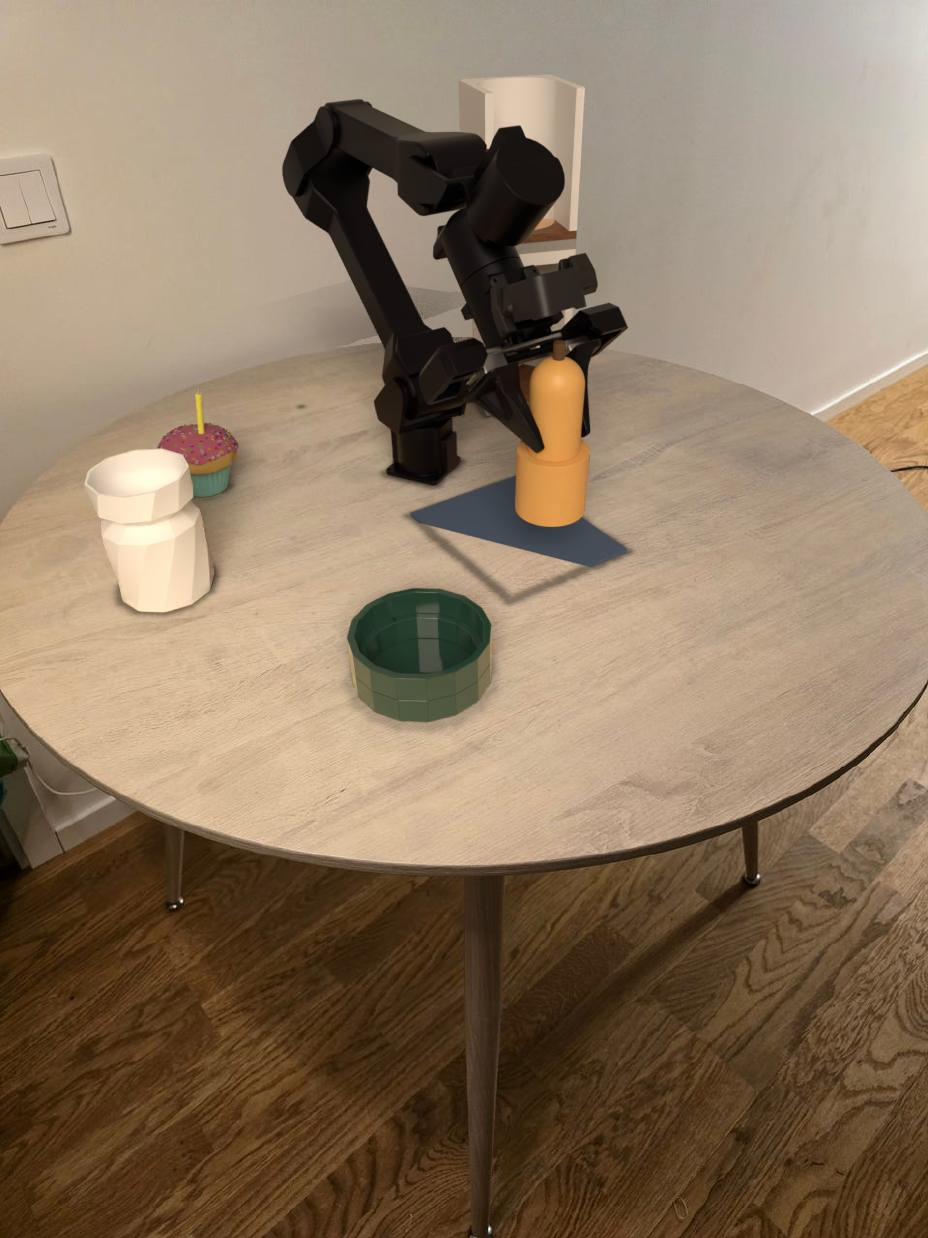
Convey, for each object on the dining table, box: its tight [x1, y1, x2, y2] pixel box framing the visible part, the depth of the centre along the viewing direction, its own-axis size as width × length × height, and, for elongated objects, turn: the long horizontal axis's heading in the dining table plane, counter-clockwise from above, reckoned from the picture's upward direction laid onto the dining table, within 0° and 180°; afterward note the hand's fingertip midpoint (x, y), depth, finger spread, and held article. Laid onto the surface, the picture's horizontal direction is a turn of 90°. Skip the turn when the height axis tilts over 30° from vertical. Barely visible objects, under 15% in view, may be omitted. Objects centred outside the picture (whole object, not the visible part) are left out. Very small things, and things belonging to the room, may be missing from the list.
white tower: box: [458, 73, 586, 417], centre depth 103 cm, size 11×11×35 cm
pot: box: [346, 587, 493, 723], centre depth 69 cm, size 11×11×5 cm
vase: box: [83, 448, 215, 613], centre depth 78 cm, size 9×9×12 cm
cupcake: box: [156, 386, 239, 498], centre depth 92 cm, size 9×8×12 cm
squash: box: [515, 340, 591, 527], centre depth 74 cm, size 6×6×16 cm
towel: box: [410, 475, 628, 568], centre depth 87 cm, size 18×14×1 cm
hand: (563, 443), depth 74 cm, fingers closed on squash, 4 cm apart
